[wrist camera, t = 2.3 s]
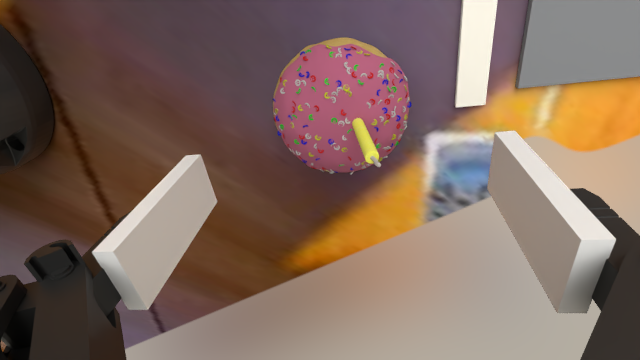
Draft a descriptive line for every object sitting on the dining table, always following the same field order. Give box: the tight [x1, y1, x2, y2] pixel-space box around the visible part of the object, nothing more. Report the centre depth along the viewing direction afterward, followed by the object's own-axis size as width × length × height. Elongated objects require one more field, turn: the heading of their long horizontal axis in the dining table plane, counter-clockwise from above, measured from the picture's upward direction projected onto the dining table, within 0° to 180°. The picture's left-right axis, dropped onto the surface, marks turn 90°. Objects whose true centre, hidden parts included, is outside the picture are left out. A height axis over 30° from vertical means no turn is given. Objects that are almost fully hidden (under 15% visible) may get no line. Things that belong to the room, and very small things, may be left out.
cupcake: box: [273, 38, 411, 174], centre depth 20 cm, size 9×8×12 cm
